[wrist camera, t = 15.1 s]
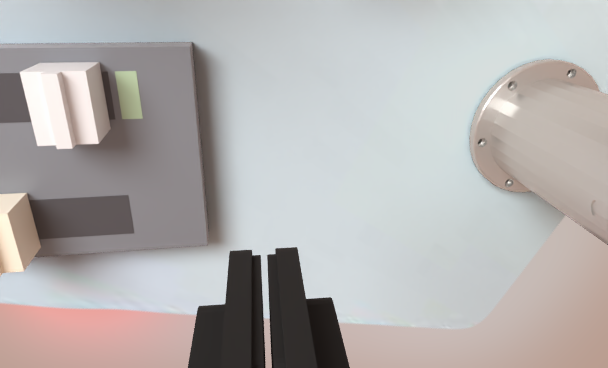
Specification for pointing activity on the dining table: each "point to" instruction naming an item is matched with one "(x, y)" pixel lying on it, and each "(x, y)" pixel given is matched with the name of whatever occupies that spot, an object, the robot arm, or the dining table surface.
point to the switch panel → (111, 152)
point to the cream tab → (16, 233)
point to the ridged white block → (66, 103)
